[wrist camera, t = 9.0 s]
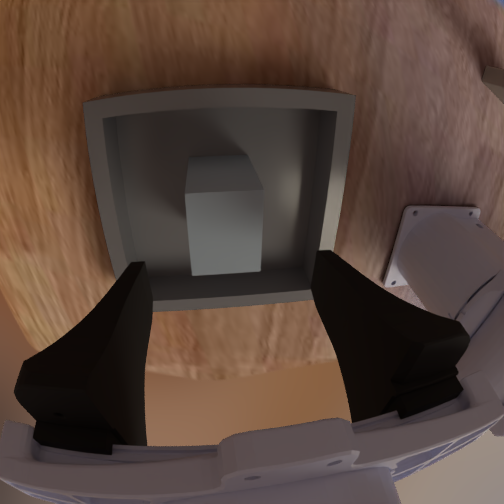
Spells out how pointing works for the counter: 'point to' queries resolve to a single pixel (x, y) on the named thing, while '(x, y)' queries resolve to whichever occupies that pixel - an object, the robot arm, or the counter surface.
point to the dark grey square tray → (220, 144)
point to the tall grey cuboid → (224, 215)
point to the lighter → (494, 81)
